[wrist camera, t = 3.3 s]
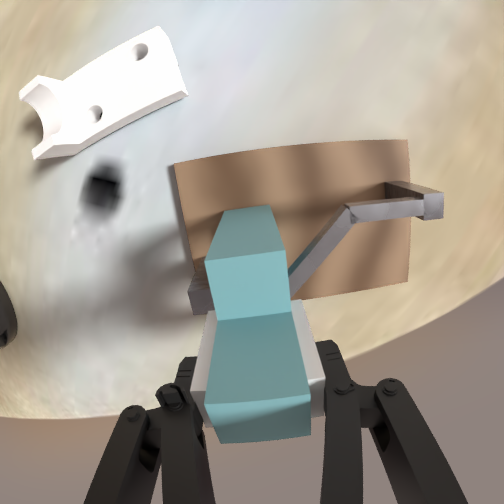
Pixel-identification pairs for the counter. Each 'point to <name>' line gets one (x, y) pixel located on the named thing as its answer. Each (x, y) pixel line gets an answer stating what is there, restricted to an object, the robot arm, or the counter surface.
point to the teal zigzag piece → (254, 334)
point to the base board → (306, 206)
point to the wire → (338, 234)
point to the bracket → (105, 94)
